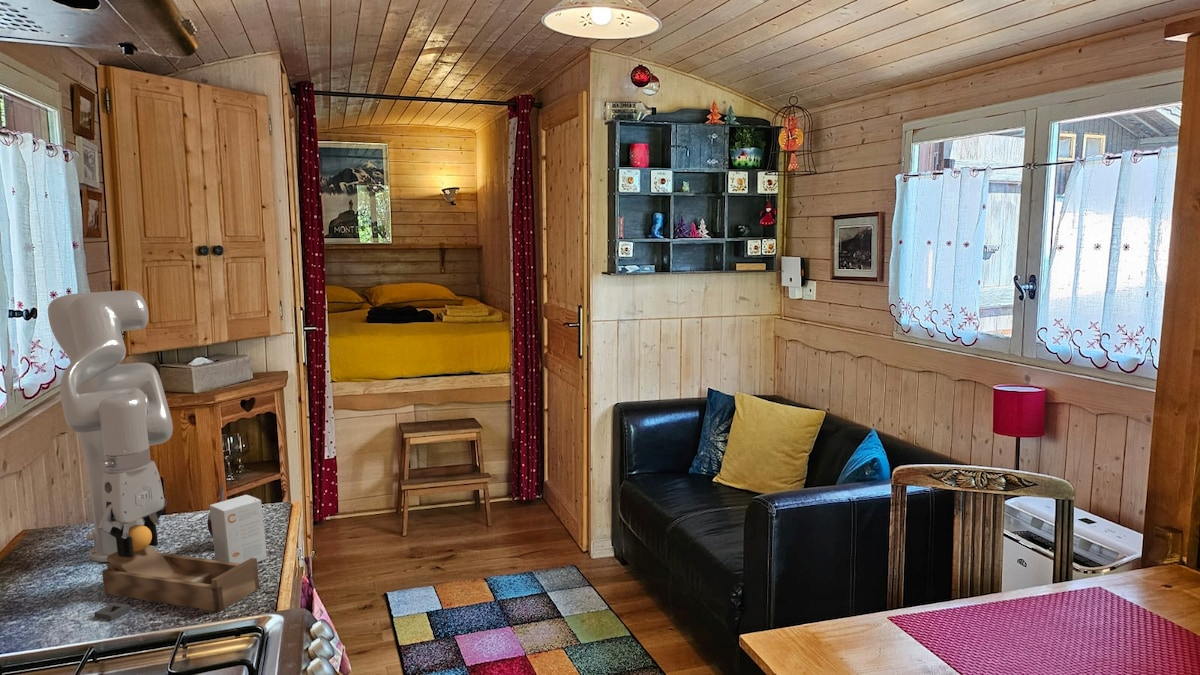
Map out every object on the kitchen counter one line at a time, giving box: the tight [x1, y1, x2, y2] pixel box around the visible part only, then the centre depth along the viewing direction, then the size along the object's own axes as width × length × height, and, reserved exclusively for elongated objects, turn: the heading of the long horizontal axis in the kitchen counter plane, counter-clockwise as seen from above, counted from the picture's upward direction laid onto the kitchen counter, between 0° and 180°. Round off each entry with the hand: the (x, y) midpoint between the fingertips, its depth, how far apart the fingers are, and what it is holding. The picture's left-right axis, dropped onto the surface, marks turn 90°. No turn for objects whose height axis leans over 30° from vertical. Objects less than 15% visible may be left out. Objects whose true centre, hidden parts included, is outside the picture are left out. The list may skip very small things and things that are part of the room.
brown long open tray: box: [101, 545, 260, 613], centre depth 157 cm, size 28×10×7 cm, turn 71°
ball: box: [128, 525, 152, 551], centre depth 159 cm, size 5×5×5 cm
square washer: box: [93, 602, 132, 621], centre depth 148 cm, size 4×4×1 cm
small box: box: [209, 494, 268, 564], centre depth 169 cm, size 8×6×13 cm
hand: (138, 549), depth 159 cm, fingers closed on ball, 4 cm apart
